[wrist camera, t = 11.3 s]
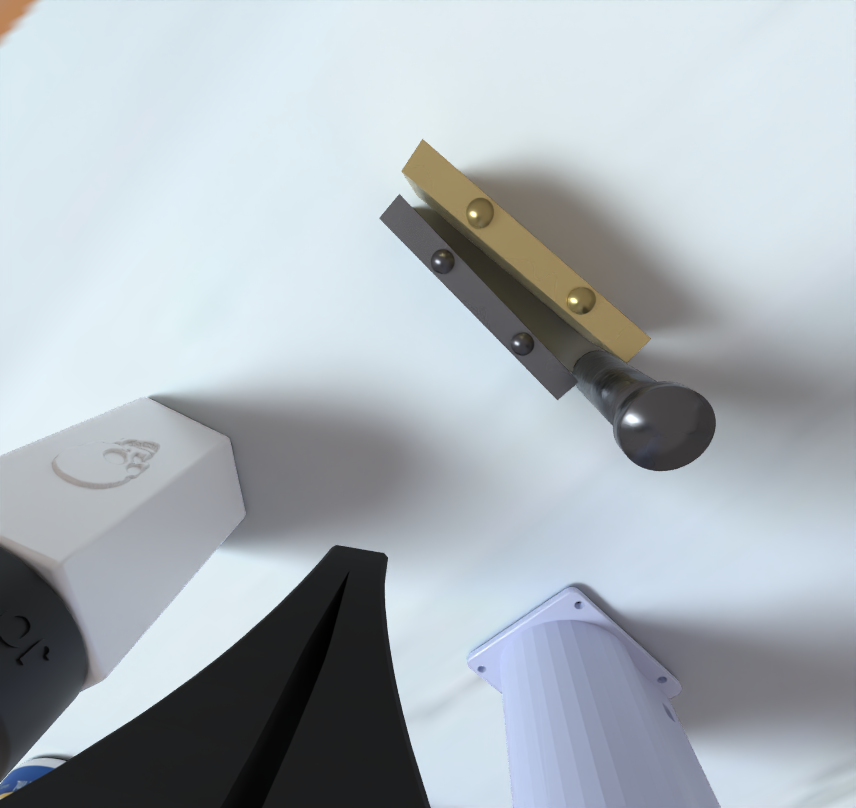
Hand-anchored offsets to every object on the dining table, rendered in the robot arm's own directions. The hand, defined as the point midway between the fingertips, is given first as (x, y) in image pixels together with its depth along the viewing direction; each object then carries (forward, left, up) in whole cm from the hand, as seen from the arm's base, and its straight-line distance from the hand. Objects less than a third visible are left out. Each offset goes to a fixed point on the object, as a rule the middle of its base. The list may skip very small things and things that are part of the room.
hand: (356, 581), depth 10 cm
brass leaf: (+2, -9, -10) cm, 13 cm away
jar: (+7, +11, -10) cm, 16 cm away
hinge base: (+1, -8, -10) cm, 13 cm away
